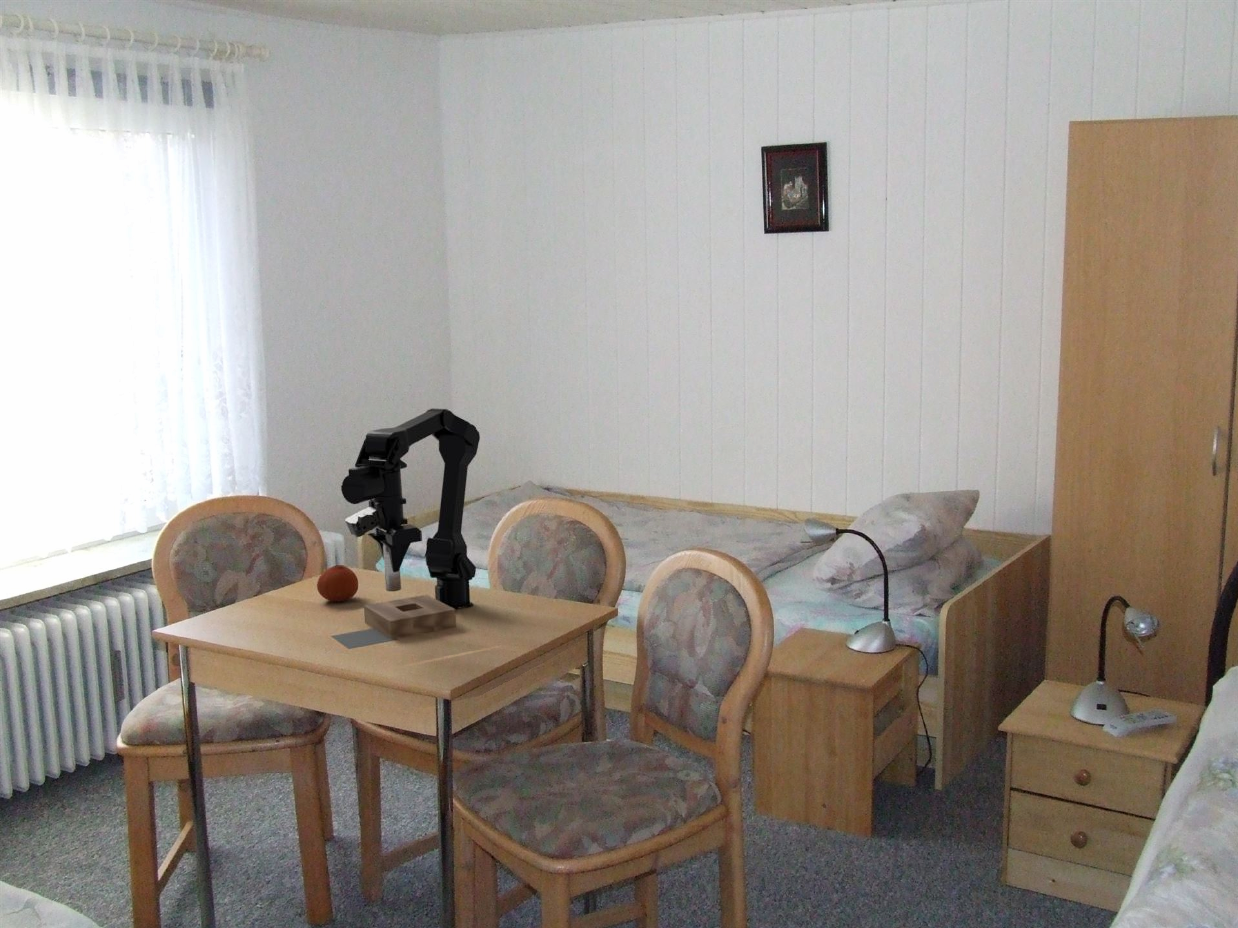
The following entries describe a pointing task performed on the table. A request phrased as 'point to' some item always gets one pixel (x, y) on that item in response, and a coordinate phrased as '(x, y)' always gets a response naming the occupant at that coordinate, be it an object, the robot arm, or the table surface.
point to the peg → (391, 573)
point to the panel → (362, 638)
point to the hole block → (409, 616)
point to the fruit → (337, 583)
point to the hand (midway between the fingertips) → (392, 569)
